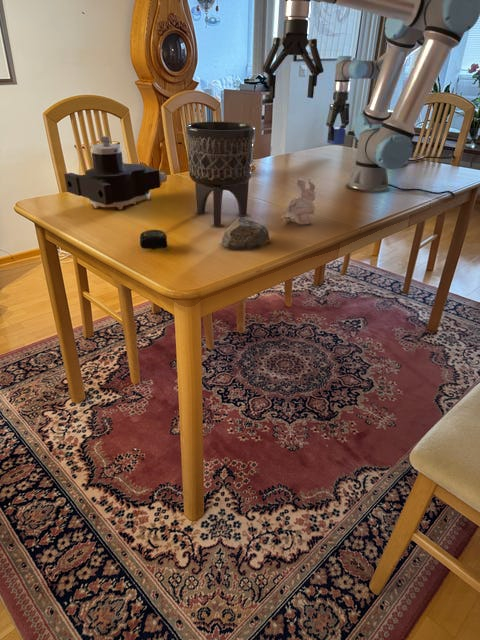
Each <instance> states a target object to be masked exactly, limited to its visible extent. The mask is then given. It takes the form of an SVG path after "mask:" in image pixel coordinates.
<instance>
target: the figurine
mask: <svg viewBox="0 0 480 640" xmlns="http://www.w3.org/2000/svg"><path fill="white" fill-rule="evenodd" d="M296 184H297V186H298V188H299V189H300V196H296V197H294V198H292V199H291V200H290V202H289V204H288V205H287V207H286V212H285V213H284V214H283V215H282V217H281V220H282V221H284V220H285V221H286V222H292V223H295V224H296V223H297V224H298V225H309V220H310V217H311V215H312V216H313V215H314V214H315V210H316V207H315V203H314V201H315V200H316V191H315V189H316V186H315V183H314V182H313V181H311V179H308V184H309V187H306V180H304V179H303V178H302V177H299V178H298V179H297V183H296Z"/></svg>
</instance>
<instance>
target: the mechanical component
mask: <svg viewBox="0 0 480 640" xmlns="http://www.w3.org/2000/svg"><path fill="white" fill-rule="evenodd" d="M122 149H123V148H122V145H121V144H118V143H111V139H110V136H109V135H103V136H100V143H97V144H93V145H91V146H90V151H91V157H92V165H93V167H92V168H88V169H86V171H85V172H84V173H85V174H78V173H73V172H68V173H67V172H66V173H64V174H63V176H64V181H65V186H66V192H67V193H69V194H72V195H75V196H78V197H83V198H85V199H88V201H89V203H90V204H91V205H93V206H94V207H93V208H95V209H98V208H100V207H102V208H117V210H123V207H124V206H128V205H136V204H137V202H138V201H143V200H146V201H148V200H150V196H151V190H155V189H160V188H161V186H162V184H163V183H165V182H167V180H168V176H167V174H166V172H162V171H161V172H160V170H159V169H155V168H152V167H149V166H147V165H145V164H141V163H124V160H123V150H122Z"/></svg>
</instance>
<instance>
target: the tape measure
mask: <svg viewBox="0 0 480 640" xmlns="http://www.w3.org/2000/svg"><path fill="white" fill-rule="evenodd" d="M167 236H168V235H167V234H166V232H165V231H164V230H161V229H147V230H144V231H143V232H141V233H140V235H139V240H140V241H139V245H140V246H139V247H141V248H142V249H146V250H157V249H167V248H168V240H167V239H168V237H167Z"/></svg>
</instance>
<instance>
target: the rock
mask: <svg viewBox="0 0 480 640" xmlns="http://www.w3.org/2000/svg"><path fill="white" fill-rule="evenodd" d="M269 241H270V233H269V230H268V229H267V228H266V226H265V225H263V224H261V223H259V222H256V221H255V220H252V219H247V218H245V217H241V216H238V217H237V218H236V219H235V221H234V222H233V223H232V224H231V225H229V226H228V227H227V228H226V229H225V231H224V233H223V236H222V239H221V244H222V247H224V248H229V249H231V250H245V249H254V248H257V247H259V246H260V245H264V244H266V242H269Z"/></svg>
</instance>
